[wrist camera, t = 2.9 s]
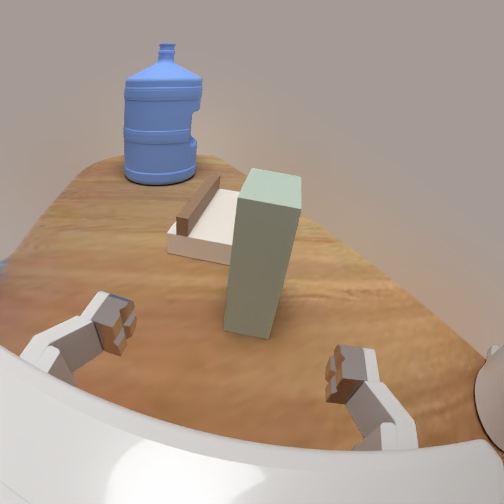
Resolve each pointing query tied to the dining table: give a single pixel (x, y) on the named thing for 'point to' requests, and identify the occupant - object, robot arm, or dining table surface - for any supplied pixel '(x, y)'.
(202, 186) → the cleat board
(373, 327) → the dining table surface
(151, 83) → the water jug
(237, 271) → the sage cabinet
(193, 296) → the dining table surface
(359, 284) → the dining table surface
